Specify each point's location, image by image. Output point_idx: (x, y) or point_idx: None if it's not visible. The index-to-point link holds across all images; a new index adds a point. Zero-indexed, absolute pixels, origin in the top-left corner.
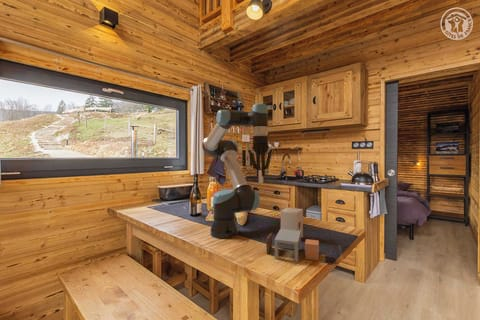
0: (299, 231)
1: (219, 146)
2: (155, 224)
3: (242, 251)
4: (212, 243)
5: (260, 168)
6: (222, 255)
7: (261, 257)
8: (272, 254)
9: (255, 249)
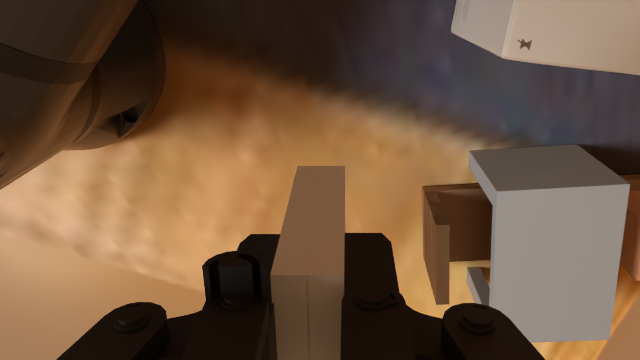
0: (621, 195)
1: None
2: None
3: None
4: (113, 211)
5: (266, 285)
6: None
7: (401, 262)
8: (451, 255)
9: (348, 199)
